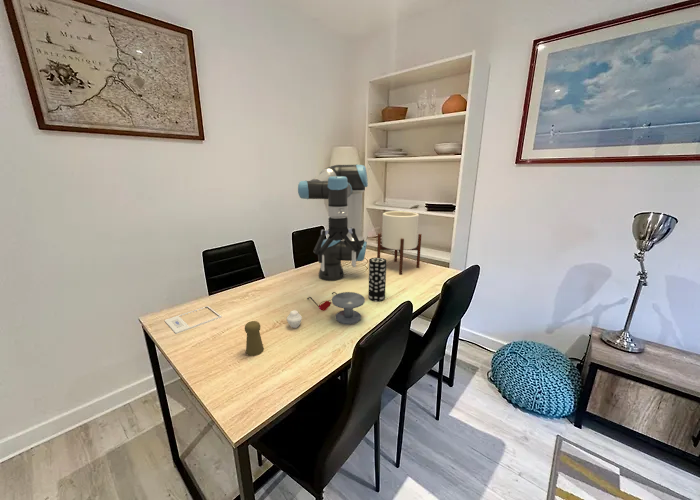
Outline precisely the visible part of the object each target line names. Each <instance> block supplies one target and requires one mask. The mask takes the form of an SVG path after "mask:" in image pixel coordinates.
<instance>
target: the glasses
mask: <svg viewBox="0 0 700 500" xmlns="http://www.w3.org/2000/svg"><path fill="white" fill-rule="evenodd" d="M331 294H332V295H333V294H334V295H336V294H338V293H337V292H336V291H333V292H331ZM306 299H307V300H308V299H311V300H312V302H313V303H314V304H315V305H316V306H317V307H318V309H319V310H320V311H322V312H323V311H327V309H328V308H329V307H331V304H332V301H331V299H329V300H325V301H321V302H320V303H319V305H318V303H317V302H316V301H315V300H314V299H313V298H312V297H311V296H309V297H307V298H306Z"/></svg>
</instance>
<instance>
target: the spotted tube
mask: <svg viewBox="0 0 700 500" xmlns="http://www.w3.org/2000/svg"><path fill="white" fill-rule="evenodd" d="M386 280H387V258H383V257H380V258H377V257H371V258H369V260H368V300H369V301H371V302H376V303H377V302H379V303H380V302H383V301H385V300H386V287H387V286H386V283H387V282H386Z"/></svg>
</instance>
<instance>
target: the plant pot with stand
mask: <svg viewBox="0 0 700 500" xmlns="http://www.w3.org/2000/svg"><path fill="white" fill-rule="evenodd" d="M419 217H420V214H419V213H417V212H413V211H405V210H403V211H400V210H396V211H395V210H393V211H384V212H383V213H382V222H381V223H382V229H381V233H377V248H376V249H377V251H376V252H377V253H376V256H377V257H376V258H381V251H394V255H393V257H394V258H393V261H394V262H395V263H397V262H398V254H399V264H398V265H399V267H398V275H399V276H402V275H403V269H404V268H403V265H404V251H417V252H416V264H415V268H416V269H420V265H421V264H420V263H421V262H420V260H421V259H420V258H421V248H422V247H421V245H422V233H419V232H418V231H419V219H420V218H419ZM398 252H399V253H398Z"/></svg>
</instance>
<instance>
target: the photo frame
mask: <svg viewBox="0 0 700 500" xmlns="http://www.w3.org/2000/svg"><path fill="white" fill-rule="evenodd" d="M205 307H206V308H209V310H211V311H212V312H214V313H215V314H216V315H217V317H214V318H210V319H208V320H205V321H203V322H202V321H201V322H199V323H197V324H194V325H192V326H190V325H188V323H187V322H186V321H184V320H183V318H182V317H183V316H182V315H184V316H186V315H185V314H187V315H189V314H188V313H190V314H192V313H191V312H193V313H195V312H194V311H196V312H198V311H197V310H199V311H201V310H200V309H202V310H204V309H203V308H205ZM206 308H205V309H206ZM179 316H181V317H179ZM222 317H223V316H222V315H221V314H219V313H218V312H217V311H215V310H214V308H212V307H211V306H209V305H206V306H204V307H200V308H197V309H194V310H191V311H187V312H184V313H181V314H179V315H175V316H172V317H169V318H167V319H164V322H165V323H166V324H167V326H168V327H169V328H170V329H171V330H172V331H173V333H175V335H177V334H180V333H183V332H185V331H189V330H191V329H194V328H197V327H199V326H201V325H204V324H207V323H210V322H213V321H215V319H216V320H219V319H221V318H222ZM218 318H219V319H218Z"/></svg>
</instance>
